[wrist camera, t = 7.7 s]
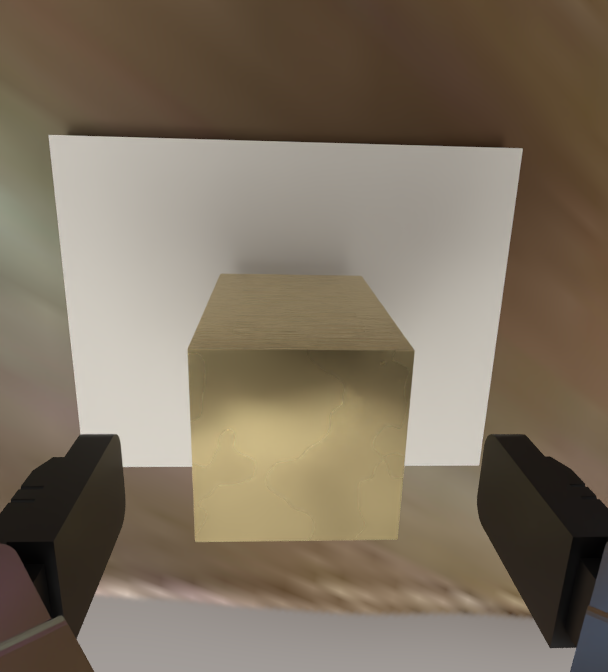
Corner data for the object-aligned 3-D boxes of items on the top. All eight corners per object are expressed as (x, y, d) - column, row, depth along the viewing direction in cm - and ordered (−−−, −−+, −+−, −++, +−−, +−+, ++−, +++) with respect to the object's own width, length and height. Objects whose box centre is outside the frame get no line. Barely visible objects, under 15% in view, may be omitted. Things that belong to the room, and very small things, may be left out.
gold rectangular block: (361, 275, 20) (415, 350, 13) (353, 403, 22) (397, 539, 14) (220, 273, 20) (187, 349, 12) (223, 403, 21) (195, 541, 14)
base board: (502, 148, 24) (522, 148, 22) (465, 444, 28) (478, 465, 26) (67, 136, 23) (48, 134, 21) (97, 444, 27) (84, 467, 25)
